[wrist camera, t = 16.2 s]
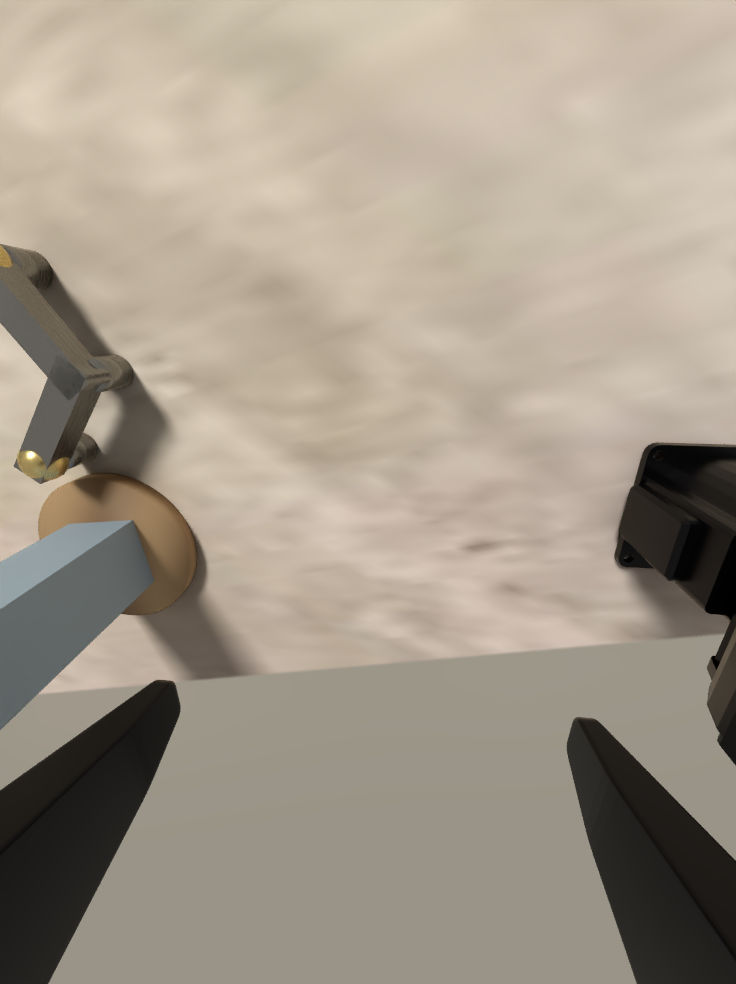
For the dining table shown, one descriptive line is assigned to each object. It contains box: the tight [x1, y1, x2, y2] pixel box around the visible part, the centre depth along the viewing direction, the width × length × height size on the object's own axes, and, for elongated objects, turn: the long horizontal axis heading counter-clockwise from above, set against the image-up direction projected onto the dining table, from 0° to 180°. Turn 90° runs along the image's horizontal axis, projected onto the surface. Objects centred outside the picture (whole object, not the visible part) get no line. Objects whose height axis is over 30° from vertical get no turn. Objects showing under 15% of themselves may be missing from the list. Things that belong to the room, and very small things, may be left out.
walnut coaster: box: [38, 473, 197, 615], centre depth 23 cm, size 9×9×1 cm
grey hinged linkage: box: [0, 244, 133, 484], centre depth 18 cm, size 5×10×4 cm, turn 0°
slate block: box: [0, 520, 155, 730], centre depth 17 cm, size 4×4×12 cm
